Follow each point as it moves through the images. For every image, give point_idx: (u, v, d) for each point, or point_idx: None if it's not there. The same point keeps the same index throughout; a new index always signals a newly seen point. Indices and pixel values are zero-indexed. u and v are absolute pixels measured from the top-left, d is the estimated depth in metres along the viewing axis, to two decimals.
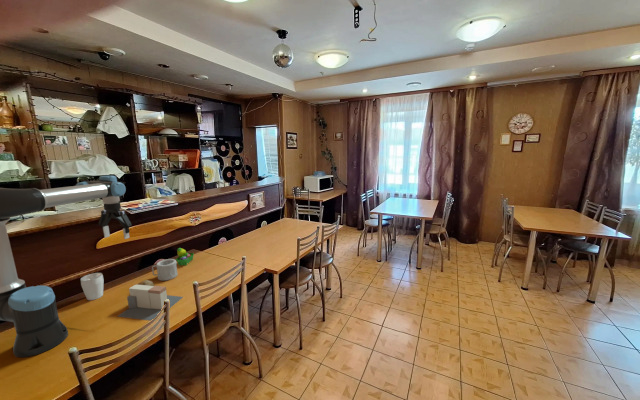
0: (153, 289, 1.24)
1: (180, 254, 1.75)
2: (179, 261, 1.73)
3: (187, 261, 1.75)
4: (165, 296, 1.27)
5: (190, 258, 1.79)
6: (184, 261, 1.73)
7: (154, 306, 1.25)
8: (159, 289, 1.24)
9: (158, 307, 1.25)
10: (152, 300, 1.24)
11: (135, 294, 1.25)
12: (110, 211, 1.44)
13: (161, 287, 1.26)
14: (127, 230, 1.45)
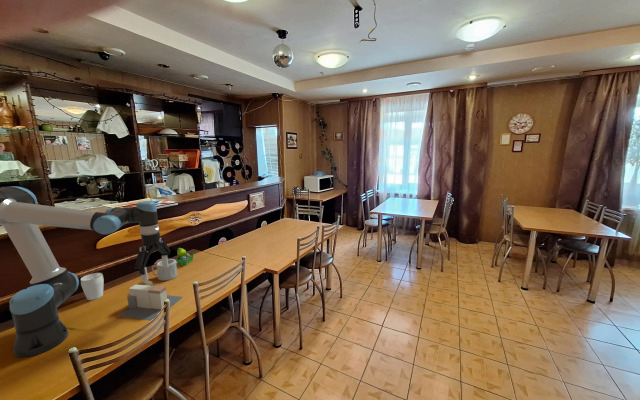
0: (153, 289, 1.24)
1: (180, 254, 1.75)
2: (179, 261, 1.73)
3: (187, 261, 1.75)
4: (165, 296, 1.27)
5: (190, 258, 1.79)
6: (184, 261, 1.73)
7: (154, 306, 1.25)
8: (159, 289, 1.24)
9: (158, 307, 1.25)
10: (152, 300, 1.24)
11: (135, 294, 1.25)
12: None
13: (161, 287, 1.26)
14: (140, 271, 1.16)
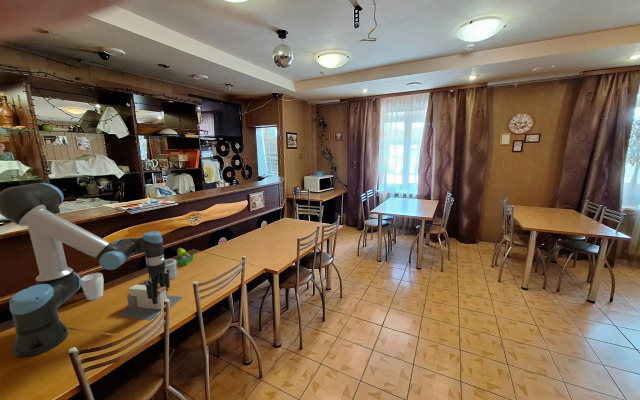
0: None
1: (180, 254, 1.75)
2: (179, 261, 1.73)
3: (187, 261, 1.75)
4: (165, 296, 1.27)
5: (190, 258, 1.79)
6: (184, 261, 1.73)
7: None
8: (159, 289, 1.24)
9: None
10: None
11: (135, 294, 1.25)
12: None
13: (161, 287, 1.26)
14: None
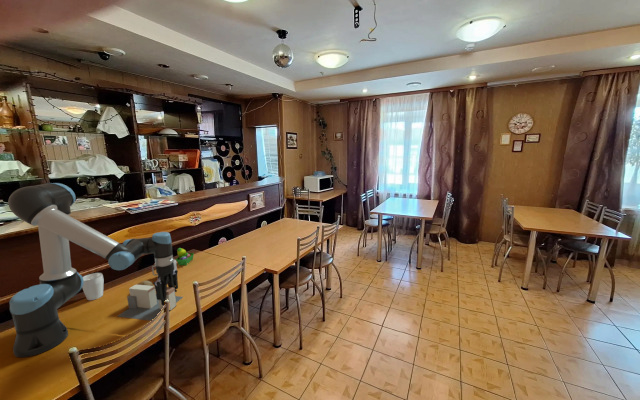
0: None
1: (180, 254, 1.75)
2: (179, 261, 1.73)
3: (187, 261, 1.75)
4: (174, 297, 1.26)
5: (190, 258, 1.79)
6: (184, 261, 1.73)
7: None
8: (168, 290, 1.23)
9: None
10: None
11: (135, 294, 1.25)
12: None
13: (170, 288, 1.25)
14: (161, 302, 1.21)
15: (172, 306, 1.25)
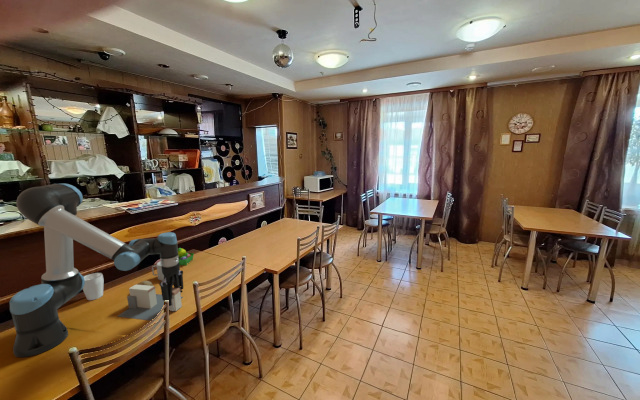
0: None
1: (180, 254, 1.75)
2: (179, 261, 1.73)
3: (187, 261, 1.75)
4: (179, 297, 1.25)
5: (190, 258, 1.79)
6: (184, 261, 1.73)
7: None
8: (173, 290, 1.23)
9: None
10: None
11: (135, 294, 1.25)
12: None
13: (175, 288, 1.25)
14: None
15: (178, 307, 1.25)
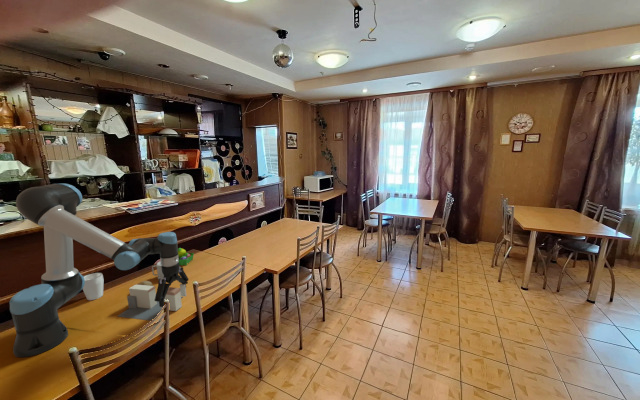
0: None
1: (180, 254, 1.75)
2: (179, 261, 1.73)
3: (187, 261, 1.75)
4: (179, 297, 1.25)
5: (190, 258, 1.79)
6: (184, 261, 1.73)
7: None
8: (173, 290, 1.23)
9: (172, 308, 1.23)
10: None
11: (135, 294, 1.25)
12: None
13: (175, 288, 1.25)
14: (159, 303, 1.16)
15: (178, 307, 1.25)
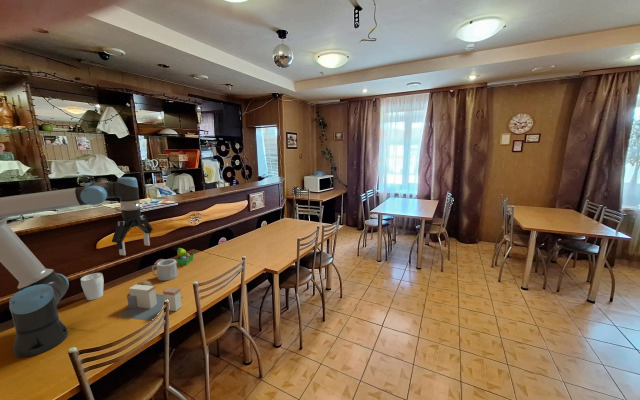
0: (167, 290, 1.23)
1: (180, 254, 1.75)
2: (179, 261, 1.73)
3: (187, 261, 1.75)
4: (179, 297, 1.25)
5: (190, 258, 1.79)
6: (184, 261, 1.73)
7: None
8: (173, 290, 1.23)
9: (172, 308, 1.23)
10: None
11: (135, 294, 1.25)
12: None
13: (175, 288, 1.25)
14: (117, 245, 1.17)
15: (178, 307, 1.25)
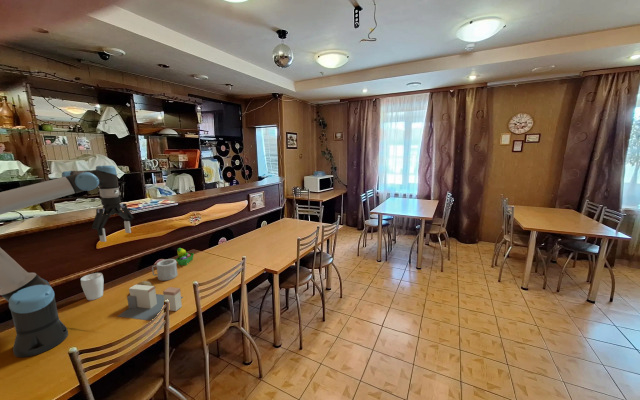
0: (167, 290, 1.23)
1: (180, 254, 1.75)
2: (179, 261, 1.73)
3: (187, 261, 1.75)
4: (179, 297, 1.25)
5: (190, 258, 1.79)
6: (184, 261, 1.73)
7: None
8: (173, 290, 1.23)
9: (172, 308, 1.23)
10: None
11: (135, 294, 1.25)
12: None
13: (175, 288, 1.25)
14: (97, 232, 1.20)
15: (178, 307, 1.25)
